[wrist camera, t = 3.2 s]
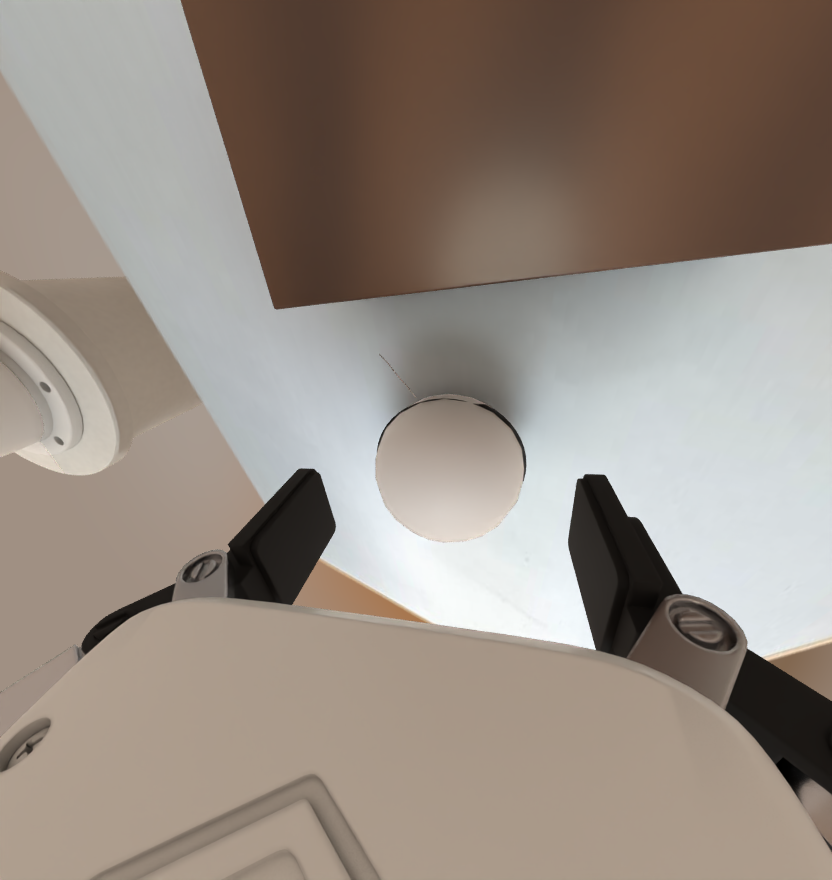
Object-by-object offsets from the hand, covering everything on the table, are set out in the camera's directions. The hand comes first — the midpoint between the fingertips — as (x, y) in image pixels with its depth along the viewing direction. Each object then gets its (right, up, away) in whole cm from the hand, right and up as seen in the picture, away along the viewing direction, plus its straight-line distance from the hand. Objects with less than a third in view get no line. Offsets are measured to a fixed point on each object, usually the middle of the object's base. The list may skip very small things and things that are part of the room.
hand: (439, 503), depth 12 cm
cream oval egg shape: (+1, +4, +7) cm, 8 cm away
